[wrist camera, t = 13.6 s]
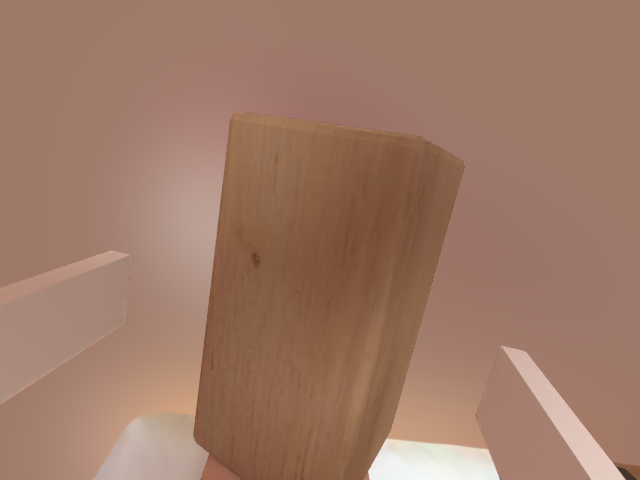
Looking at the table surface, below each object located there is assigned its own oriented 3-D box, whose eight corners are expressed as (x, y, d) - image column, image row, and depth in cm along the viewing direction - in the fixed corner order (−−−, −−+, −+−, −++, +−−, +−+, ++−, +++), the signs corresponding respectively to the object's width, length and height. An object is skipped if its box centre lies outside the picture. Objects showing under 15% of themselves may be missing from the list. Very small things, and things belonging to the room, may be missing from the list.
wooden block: (189, 441, 22) (227, 108, 17) (283, 371, 30) (326, 136, 25) (325, 552, 17) (430, 135, 12) (391, 432, 25) (468, 159, 21)
